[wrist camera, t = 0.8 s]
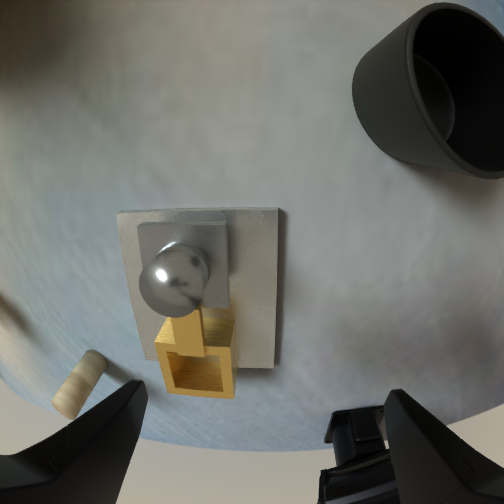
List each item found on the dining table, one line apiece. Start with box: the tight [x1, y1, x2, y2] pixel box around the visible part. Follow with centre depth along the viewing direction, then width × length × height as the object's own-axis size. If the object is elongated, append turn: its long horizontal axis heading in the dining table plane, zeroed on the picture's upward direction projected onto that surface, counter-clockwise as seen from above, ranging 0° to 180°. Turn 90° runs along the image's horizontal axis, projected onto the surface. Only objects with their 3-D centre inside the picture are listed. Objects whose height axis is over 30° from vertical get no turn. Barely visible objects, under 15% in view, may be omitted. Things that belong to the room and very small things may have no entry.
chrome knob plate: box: [116, 208, 278, 399], centre depth 20 cm, size 14×12×7 cm
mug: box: [352, 2, 504, 179], centre depth 13 cm, size 9×12×9 cm
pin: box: [51, 350, 107, 420], centre depth 23 cm, size 3×3×8 cm
